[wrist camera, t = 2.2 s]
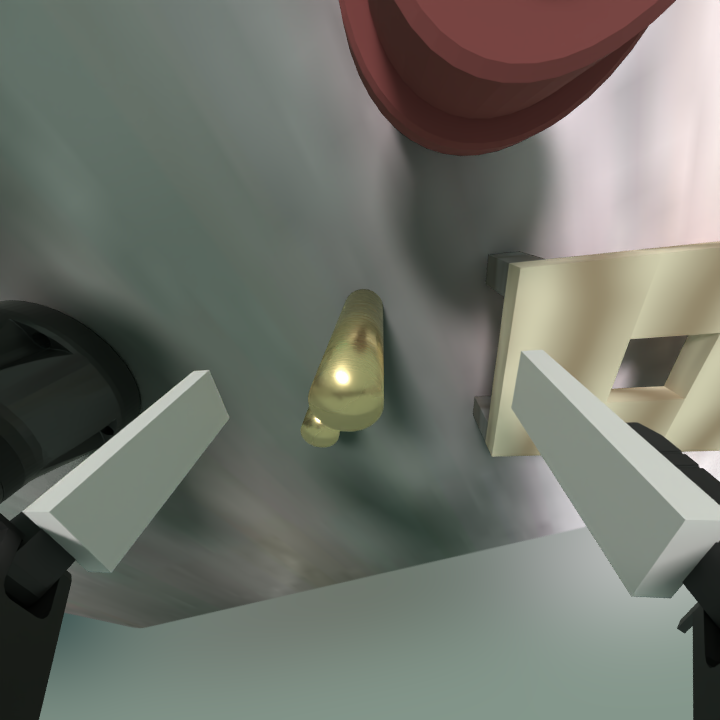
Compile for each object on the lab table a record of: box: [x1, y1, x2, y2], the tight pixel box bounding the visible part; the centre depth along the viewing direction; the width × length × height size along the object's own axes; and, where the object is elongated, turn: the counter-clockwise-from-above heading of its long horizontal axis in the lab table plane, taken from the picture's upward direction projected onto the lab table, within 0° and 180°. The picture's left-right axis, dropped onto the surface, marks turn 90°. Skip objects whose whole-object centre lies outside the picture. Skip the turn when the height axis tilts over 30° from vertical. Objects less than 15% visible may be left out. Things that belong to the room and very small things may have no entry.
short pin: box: [301, 406, 340, 447], centre depth 23 cm, size 3×3×5 cm
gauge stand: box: [473, 241, 720, 457], centre depth 19 cm, size 18×14×5 cm
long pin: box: [308, 289, 384, 432], centre depth 16 cm, size 3×3×12 cm
